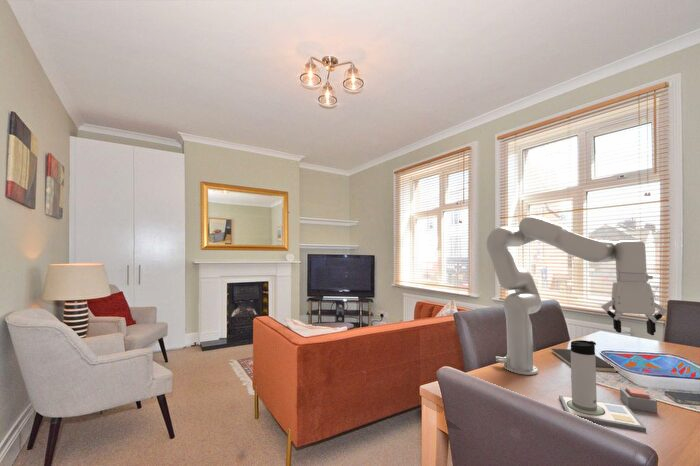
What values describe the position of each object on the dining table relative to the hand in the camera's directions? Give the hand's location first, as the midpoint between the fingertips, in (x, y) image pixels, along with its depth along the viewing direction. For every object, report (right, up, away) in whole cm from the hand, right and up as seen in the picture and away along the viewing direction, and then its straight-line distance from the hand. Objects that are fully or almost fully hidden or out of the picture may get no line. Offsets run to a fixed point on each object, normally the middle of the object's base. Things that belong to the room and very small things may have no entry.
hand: (634, 332), depth 104 cm
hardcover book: (+12, -26, +40) cm, 49 cm away
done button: (0, -20, -1) cm, 20 cm away
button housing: (0, -23, -1) cm, 23 cm away
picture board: (-16, -23, -6) cm, 28 cm away
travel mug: (-19, -22, -4) cm, 29 cm away
